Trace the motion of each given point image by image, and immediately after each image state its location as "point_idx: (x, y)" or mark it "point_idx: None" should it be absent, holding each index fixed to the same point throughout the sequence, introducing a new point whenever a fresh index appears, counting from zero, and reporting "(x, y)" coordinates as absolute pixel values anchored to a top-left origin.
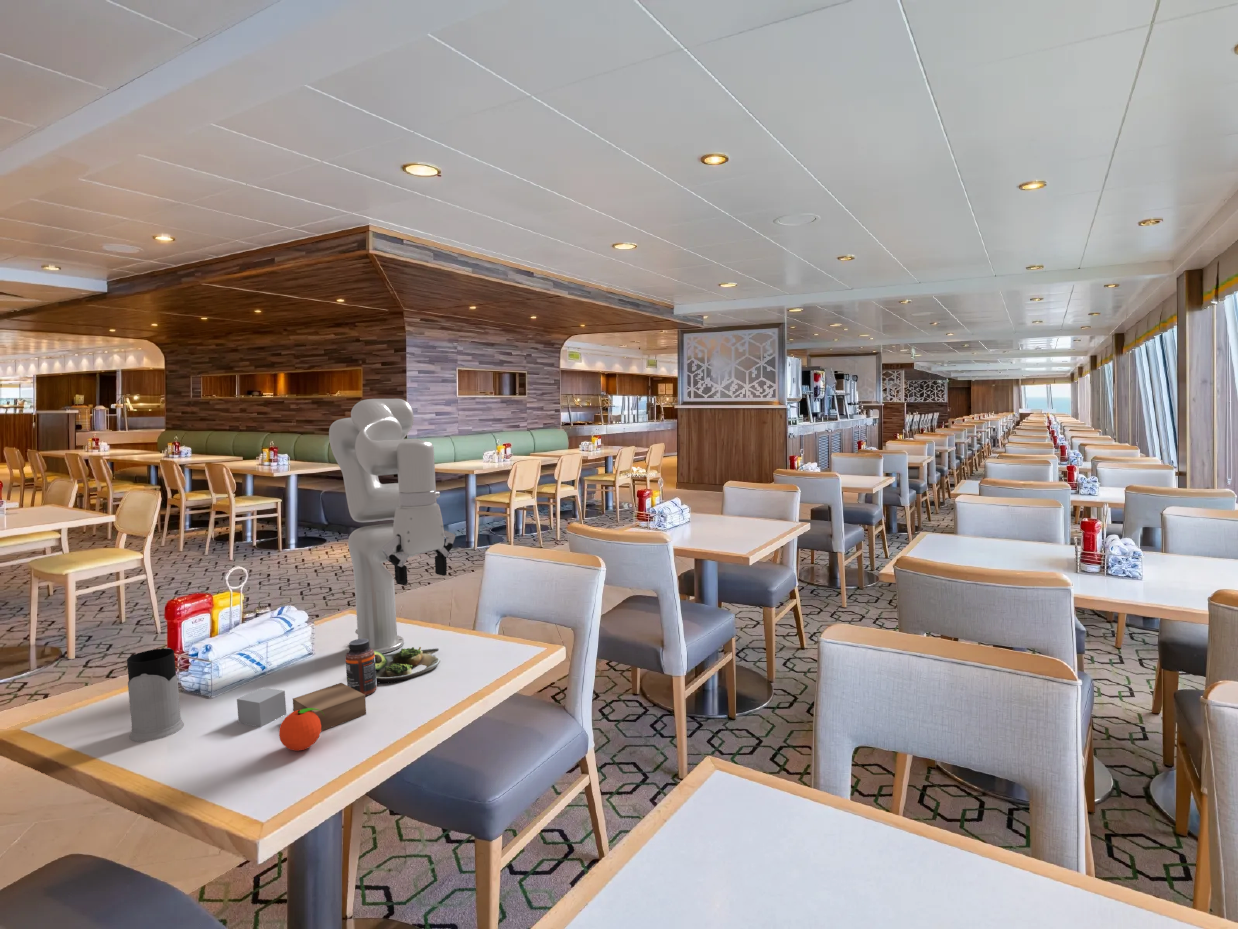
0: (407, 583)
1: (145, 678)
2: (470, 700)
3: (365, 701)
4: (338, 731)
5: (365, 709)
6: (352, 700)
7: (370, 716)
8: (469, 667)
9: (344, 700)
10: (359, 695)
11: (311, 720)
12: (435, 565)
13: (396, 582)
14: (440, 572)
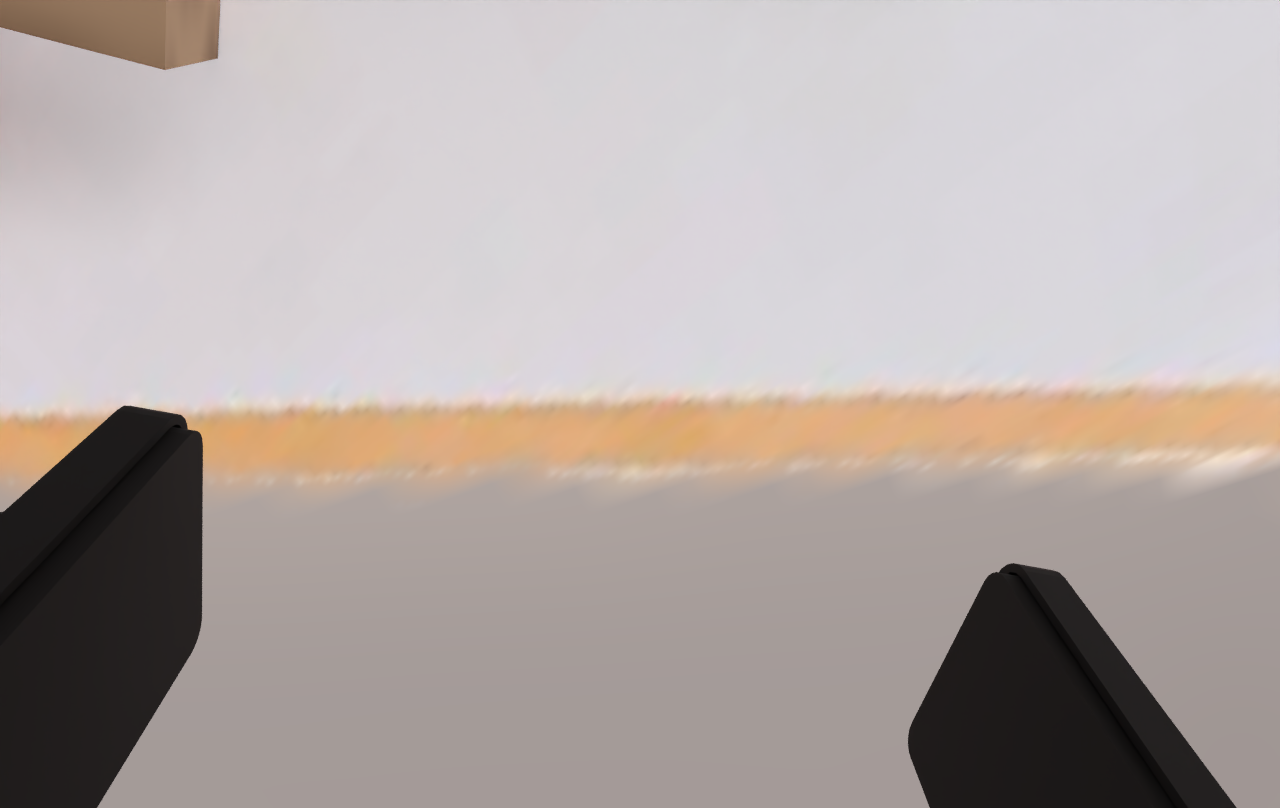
0: (192, 647)
1: None
2: (612, 434)
3: (184, 65)
4: (6, 82)
5: (203, 59)
6: (76, 46)
7: (218, 103)
8: (995, 146)
9: (28, 7)
10: (133, 43)
11: None
12: (1065, 688)
13: (125, 410)
14: (949, 710)
